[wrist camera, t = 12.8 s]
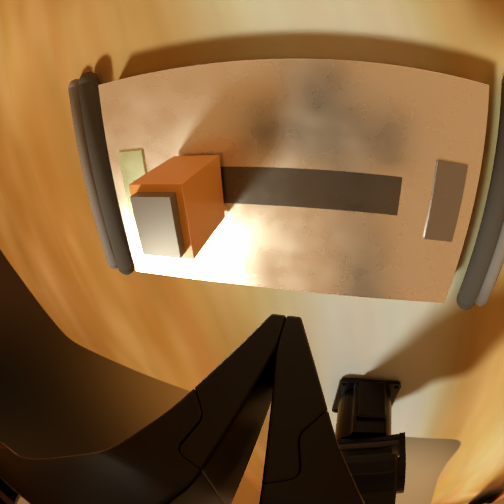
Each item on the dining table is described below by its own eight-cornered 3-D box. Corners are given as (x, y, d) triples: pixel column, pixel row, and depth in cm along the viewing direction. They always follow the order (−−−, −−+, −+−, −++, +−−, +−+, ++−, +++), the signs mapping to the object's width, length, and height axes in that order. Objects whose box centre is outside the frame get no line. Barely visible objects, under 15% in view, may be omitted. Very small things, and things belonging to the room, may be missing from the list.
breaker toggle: (225, 216, 20) (189, 266, 15) (182, 214, 21) (138, 260, 16) (219, 155, 18) (176, 189, 13) (173, 156, 19) (121, 189, 14)
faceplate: (438, 286, 21) (444, 304, 19) (147, 258, 27) (135, 272, 25) (475, 82, 13) (490, 85, 11) (115, 81, 19) (96, 85, 17)
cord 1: (140, 269, 28) (131, 279, 26) (115, 265, 28) (105, 274, 27) (101, 69, 18) (87, 71, 17) (74, 77, 19) (60, 80, 18)
